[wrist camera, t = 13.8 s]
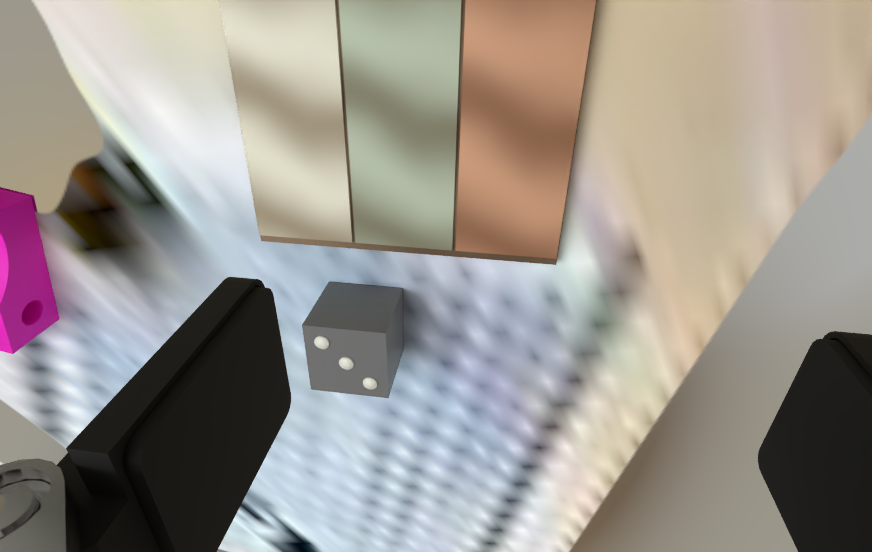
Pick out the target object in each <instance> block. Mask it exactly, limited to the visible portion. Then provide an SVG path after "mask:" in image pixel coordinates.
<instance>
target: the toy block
mask: <svg viewBox="0 0 872 552" xmlns="http://www.w3.org/2000/svg"><path fill="white" fill-rule="evenodd" d="M35 211H36V212H38V211H37V207H36V203H35V198H34V195H30V194H26V193H22V192H18V191H14V190H10V189H6V188H2V187H0V351H4V352H7V353H11V354H13V353H15V352H16V351H17V350H19V349H20V348H21V347H23V346H24V345H25V344H27V343H28V342H29V341H31V340H32V339H33V338H35V337H36V336H37V335H39V334H40V333H41V332H43V331H44V330H45V329H47V328H48V327H49V326H51V325H52V324H53V323H55V322H56V321H57V320H59V315H58V311H57V306H56V302H55V298H54V293H53V289H52V285H51V280H50V276H49V272H48V267H47V263H46V259H45V254H44V250H43V246H42V241H41V237H40V233H39V228H38V224H37V220H36V215H35Z"/></svg>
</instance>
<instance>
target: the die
mask: <svg viewBox="0 0 872 552" xmlns="http://www.w3.org/2000/svg"><path fill="white" fill-rule="evenodd" d="M302 328H303V335H304V342H305V349H306V356H307V363H308V370H309V378H310V385H311V389H312V390H321V391H330V392H339V393H348V394H357V395H366V396H375V397H383V398H389V394H390V391H391V388H392V385H393V381H394V378H395V375H396V372H397V369H398V365H399V362H400V359H401V356H402V352H403V349H404V338H403V288H394V287H383V286H371V285H360V284H349V283H337V282H329V283H328V284H327V286H326V287H325V289H324V291H323V292H322V294H321V296H320V297H319V299H318V300H317V302H316V304H315V305H314V307H313V309H312V310H311V312H310V313H309V315H308V317H307V318H306V320H305V321H304V323H303V325H302Z"/></svg>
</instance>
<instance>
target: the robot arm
mask: <svg viewBox="0 0 872 552" xmlns="http://www.w3.org/2000/svg"><path fill="white" fill-rule="evenodd" d="M290 404H291V392H290V387H289V381H288V375H287V370H286V364H285V359H284V353H283V347H282V342H281V336H280V330H279V325H278V319H277V313H276V308H275V302H274V296H273V293H272V291H271V289H269V288H265V287H264V284H263V283H262V281H260V280H259V279H248V278H237V277H228V278H226V279H225V280H224V281H223V282H222V283H221V284H220V285H219V286H218V287H217V288H216V289H215V290H214V291H213V292H212V293H211V294H210V296H209V297H208V298H207V299H206V300H205V301H204V302H203V303H202V304H201V305H200V306H199V307H198V308H197V309H196V310H195V312H194V313H193V314H192V315H191V316H190V317H189V318H188V319H187V320H186V321H185V322H184V323H183V324H182V325H181V326H180V328H179V329H178V330H177V331H176V332H175V333H174V334H173V335H172V336H171V337H170V338H169V339H168V340H167V341H166V342H165V343H164V345H163V346H162V347H161V348H160V349H159V350H158V351H157V352H156V353H155V354H154V355H153V356H152V357H151V358H150V359H149V361H148V362H147V363H146V364H145V365H144V366H143V367H142V368H141V369H140V370H139V371H138V372H137V373H136V374H135V375H134V377H133V378H132V379H131V380H130V381H129V382H128V383H127V384H126V385H125V386H124V387H123V388H122V389H121V390H120V391H119V393H118V394H117V395H116V396H115V397H114V398H113V399H112V400H111V401H110V402H109V403H108V404H107V405H106V406H105V407H104V408H103V410H102V411H101V412H100V413H99V414H98V415H97V416H96V417H95V418H94V419H93V420H92V421H91V422H90V423H89V424H88V426H87V427H86V428H85V429H84V430H83V431H82V432H81V433H80V434H79V435H78V436H77V437H76V438H75V439H74V440H73V442H72V443H71V444H70V445H69V446H68V447H67V448H66V449H67V451H68V453H67V455H66V456H65V457H64V458H63V459H62V460H61V461H60V462H59V463H58V464H57V465H55V464H54V463H53V462H51V461H47V460H42V459H25V460H18V461H14V462H10V463H6V464H3V465H0V552H217V550H218V548H219V546H220V544H221V542H222V540H223V538H224V536H225V534H226V532H227V530H228V528H229V526H230V525H231V523H232V521H233V519H234V517H235V515H236V513H237V511H238V509H239V507H240V505H241V503H242V501H243V499H244V497H245V496H246V494H247V492H248V490H249V488H250V486H251V484H252V482H253V480H254V478H255V476H256V474H257V472H258V470H259V469H260V467H261V465H262V463H263V461H264V459H265V457H266V455H267V453H268V451H269V449H270V447H271V445H272V443H273V442H274V440H275V438H276V436H277V434H278V432H279V430H280V428H281V426H282V424H283V422H284V420H285V418H286V416H287V414H288V412H289V409H290ZM758 463H759V468H760V471H761V474H762V476H763V478H764V480H765V482H766V484H767V486H768V488H769V491H770V493H771V495H772V497H773V499H774V501H775V503H776V505H777V508H778V509H779V512H780V514H781V516H782V518H783V520H784V522H785V524H786V526H787V529H788V531H789V533H790V535H791V537H792V539H793V541H794V544H795V546H796V547H797V550H798V552H872V335H870V334H857V333H846V332H836V331H834V332H830V333H828V334H827V335H825V336H824V338H823V339H818V340H816V341H814V342H813V343H812V345H811V346H810V348H809V350H808V352H807V354H806V356H805V358H804V361H803V362H802V364H801V367H800V368H799V371H798V373H797V374H796V376H795V379H794V381H793V383H792V385H791V387H790V389H789V391H788V393H787V395H786V397H785V399H784V401H783V403H782V405H781V407H780V409H779V411H778V413H777V415H776V417H775V419H774V421H773V423H772V425H771V427H770V429H769V431H768V433H767V435H766V437H765V439H764V441H763V443H762V445H761V447H760V450H759V454H758Z"/></svg>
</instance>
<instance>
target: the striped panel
mask: <svg viewBox="0 0 872 552" xmlns="http://www.w3.org/2000/svg"><path fill="white" fill-rule="evenodd" d="M596 2H597V0H219V3H220V9H221V15H222V21H223V27H224V32H225V38H226V44H227V50H228V56H229V61H230V67H231V73H232V79H233V85H234V91H235V96H236V102H237V108H238V114H239V120H240V125H241V131H242V137H243V143H244V149H245V154H246V160H247V166H248V172H249V178H250V183H251V189H252V195H253V201H254V207H255V212H256V218H257V224H258V230H259V235H260V236H261V241H269V242H282V243H294V244H306V245H319V246H331V247H343V248H356V249H368V250H381V251H393V252H405V253H418V254H430V255H443V256H455V257H467V258H480V259H492V260H505V261H517V262H529V263H542V264H554V265H556V262H557V255H558V249H559V242H560V236H561V229H562V223H563V216H564V210H565V203H566V197H567V190H568V184H569V177H570V171H571V164H572V158H573V151H574V145H575V138H576V132H577V125H578V119H579V112H580V106H581V99H582V93H583V86H584V80H585V73H586V67H587V60H588V54H589V47H590V41H591V34H592V28H593V21H594V15H595V8H596Z"/></svg>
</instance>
